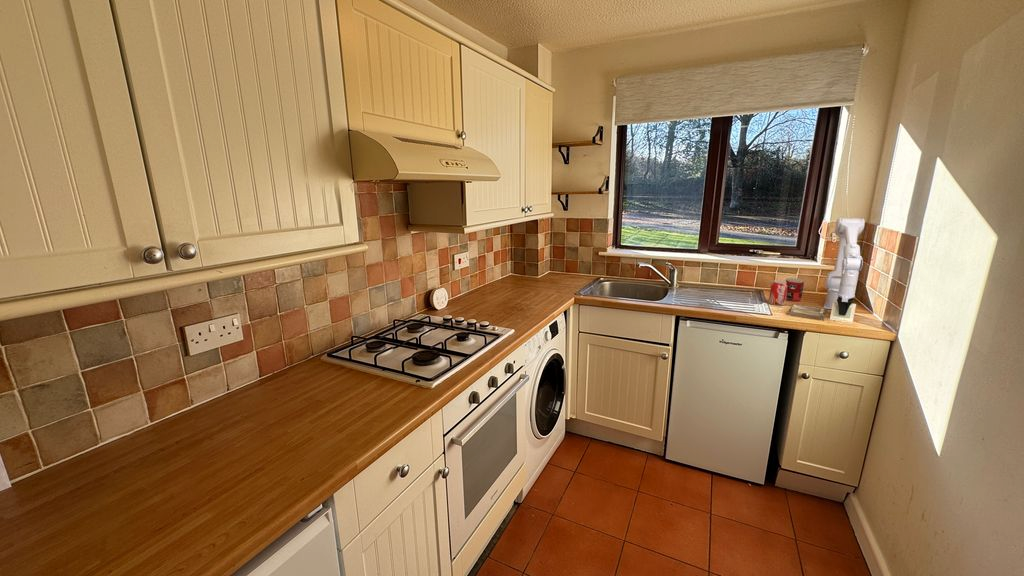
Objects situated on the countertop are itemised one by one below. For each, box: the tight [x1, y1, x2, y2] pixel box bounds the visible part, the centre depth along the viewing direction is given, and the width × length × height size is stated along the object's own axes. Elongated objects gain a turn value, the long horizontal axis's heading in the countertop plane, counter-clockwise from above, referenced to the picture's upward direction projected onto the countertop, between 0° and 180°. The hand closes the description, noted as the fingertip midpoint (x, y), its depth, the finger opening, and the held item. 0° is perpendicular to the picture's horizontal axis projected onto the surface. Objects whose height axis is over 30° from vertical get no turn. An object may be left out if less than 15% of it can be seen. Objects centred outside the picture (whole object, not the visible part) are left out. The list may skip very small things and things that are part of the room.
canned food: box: [785, 277, 805, 303], centre depth 218 cm, size 8×8×11 cm
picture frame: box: [829, 301, 857, 324], centre depth 185 cm, size 5×8×8 cm, turn 49°
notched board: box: [786, 303, 829, 322], centre depth 197 cm, size 20×14×2 cm
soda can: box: [768, 280, 788, 307], centre depth 210 cm, size 7×7×12 cm
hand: (842, 314), depth 186 cm, fingers open, 4 cm apart
